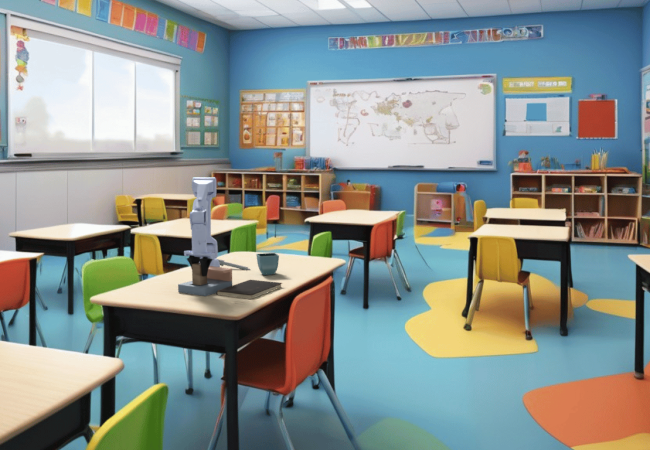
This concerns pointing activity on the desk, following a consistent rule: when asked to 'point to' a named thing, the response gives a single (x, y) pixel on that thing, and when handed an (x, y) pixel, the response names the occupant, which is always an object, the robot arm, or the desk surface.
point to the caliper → (232, 265)
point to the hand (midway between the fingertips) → (200, 275)
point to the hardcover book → (249, 289)
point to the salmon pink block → (219, 273)
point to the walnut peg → (198, 275)
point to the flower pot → (267, 263)
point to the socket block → (204, 287)
